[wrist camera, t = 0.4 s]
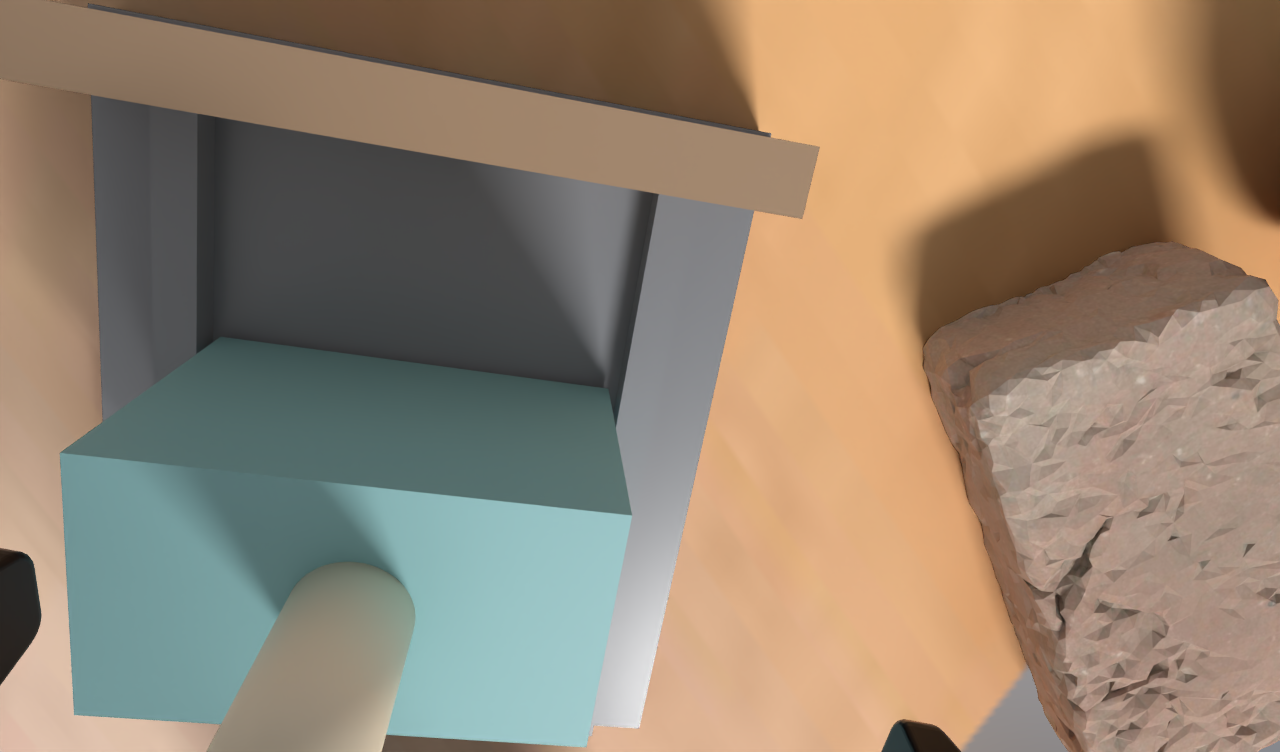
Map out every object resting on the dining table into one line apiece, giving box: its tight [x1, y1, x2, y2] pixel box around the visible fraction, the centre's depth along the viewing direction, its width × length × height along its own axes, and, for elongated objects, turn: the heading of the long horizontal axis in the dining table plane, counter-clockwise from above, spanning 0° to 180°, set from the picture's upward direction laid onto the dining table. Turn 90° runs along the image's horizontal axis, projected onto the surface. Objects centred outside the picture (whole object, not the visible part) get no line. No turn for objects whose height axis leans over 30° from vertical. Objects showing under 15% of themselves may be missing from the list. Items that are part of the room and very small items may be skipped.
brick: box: [923, 241, 1280, 752], centre depth 25 cm, size 17×8×5 cm, turn 25°
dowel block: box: [60, 337, 632, 752], centre depth 16 cm, size 6×10×12 cm, turn 80°
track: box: [0, 0, 820, 736], centre depth 21 cm, size 19×16×5 cm
